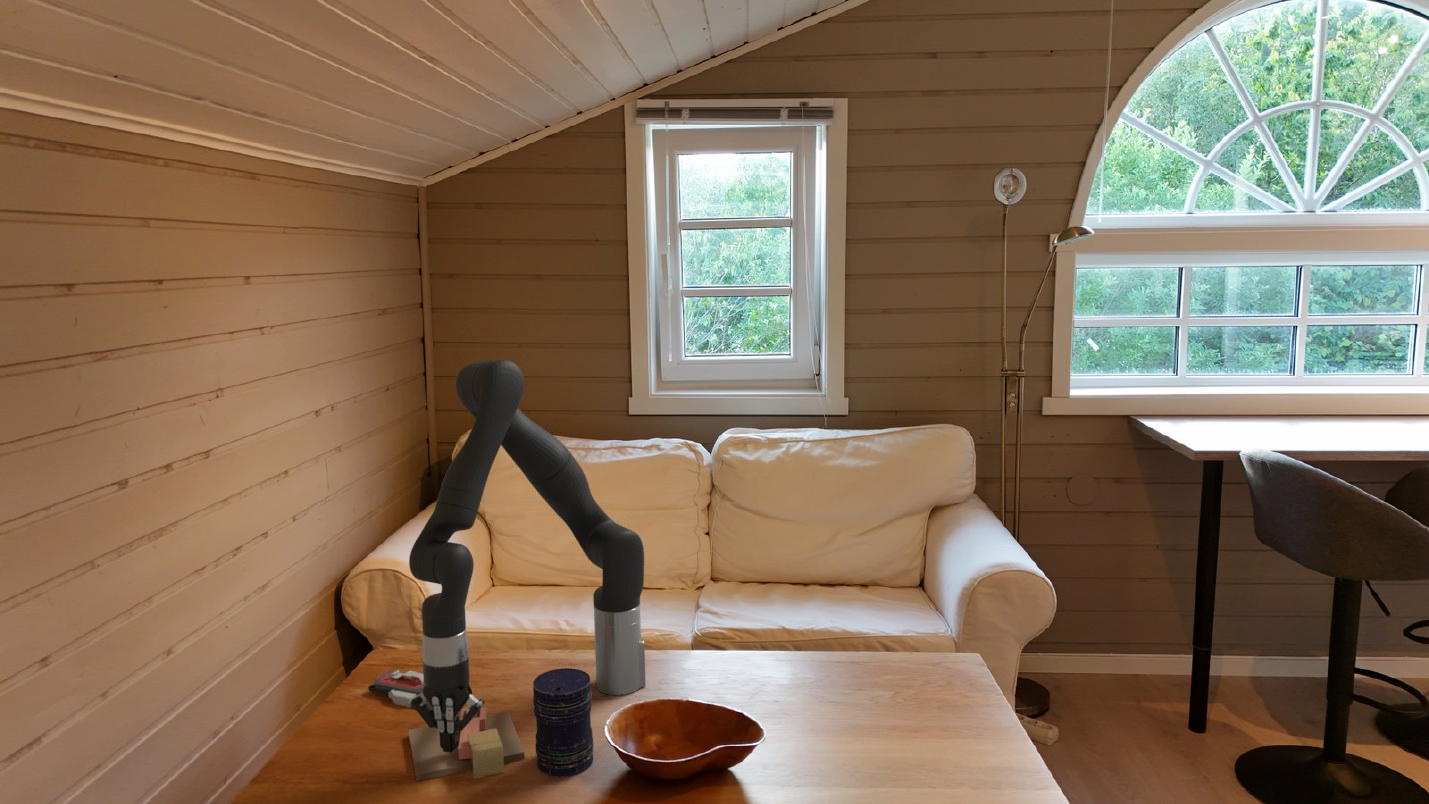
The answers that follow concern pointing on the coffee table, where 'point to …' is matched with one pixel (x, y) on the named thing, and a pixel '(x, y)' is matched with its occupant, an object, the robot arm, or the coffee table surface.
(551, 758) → the storage jar
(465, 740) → the link
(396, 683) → the walkie-talkie
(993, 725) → the coffee table surface
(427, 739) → the board
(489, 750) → the block
